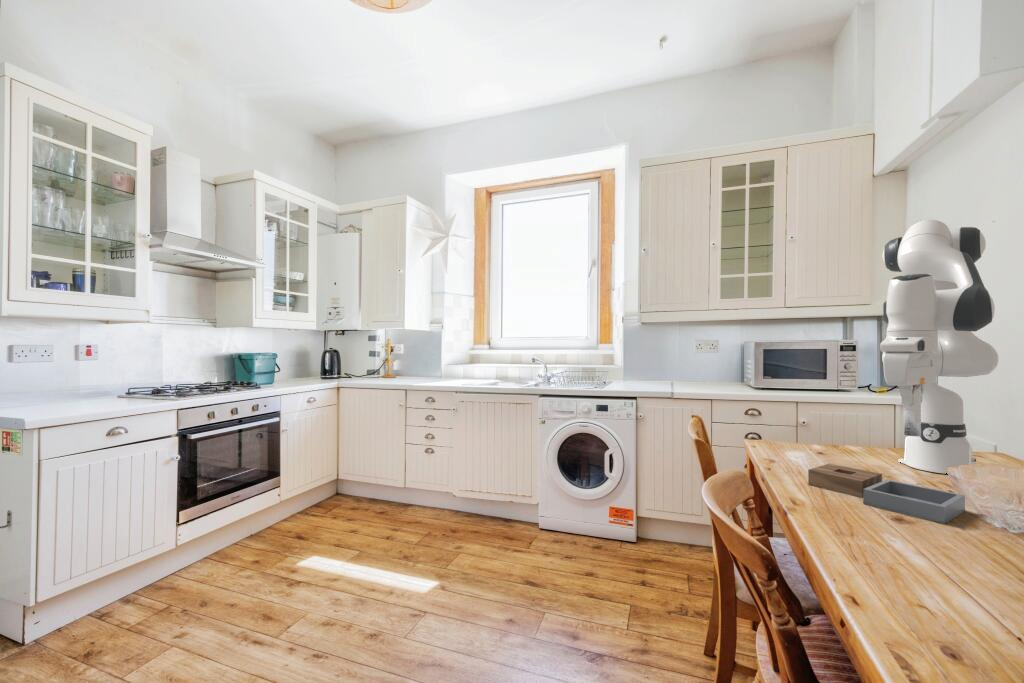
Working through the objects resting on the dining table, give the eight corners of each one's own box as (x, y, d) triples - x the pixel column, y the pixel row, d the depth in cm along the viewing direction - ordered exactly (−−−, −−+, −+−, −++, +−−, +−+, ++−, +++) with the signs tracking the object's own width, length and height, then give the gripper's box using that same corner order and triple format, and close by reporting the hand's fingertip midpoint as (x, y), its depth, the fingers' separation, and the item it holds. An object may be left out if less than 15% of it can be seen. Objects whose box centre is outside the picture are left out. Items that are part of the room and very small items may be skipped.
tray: (887, 493, 112) (887, 479, 112) (964, 510, 100) (964, 495, 100) (863, 503, 104) (863, 488, 104) (944, 524, 92) (944, 507, 92)
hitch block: (829, 477, 125) (829, 463, 125) (882, 489, 115) (882, 473, 115) (808, 484, 119) (808, 469, 119) (862, 497, 109) (862, 481, 109)
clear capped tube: (903, 432, 105) (903, 376, 105) (928, 435, 102) (927, 377, 102) (896, 434, 103) (896, 377, 103) (921, 437, 99) (920, 378, 99)
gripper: (910, 344, 111) (911, 400, 111) (876, 343, 100) (877, 405, 100) (944, 344, 105) (945, 402, 105) (913, 343, 94) (913, 409, 94)
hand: (912, 404), depth 102 cm, fingers closed on clear capped tube, 4 cm apart
